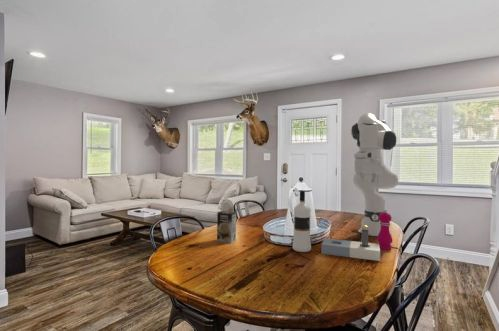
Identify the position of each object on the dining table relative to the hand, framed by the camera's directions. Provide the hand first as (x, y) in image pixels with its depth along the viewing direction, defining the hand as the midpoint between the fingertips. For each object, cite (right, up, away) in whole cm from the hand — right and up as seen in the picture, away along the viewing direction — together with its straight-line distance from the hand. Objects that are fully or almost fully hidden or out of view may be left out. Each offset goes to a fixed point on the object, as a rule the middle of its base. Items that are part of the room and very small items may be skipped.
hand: (368, 183), depth 140 cm
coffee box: (-72, -34, +19) cm, 81 cm away
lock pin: (-3, -34, -4) cm, 35 cm away
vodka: (-32, -34, +4) cm, 47 cm away
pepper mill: (+11, -35, +7) cm, 37 cm away
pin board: (-9, -34, -1) cm, 36 cm away
